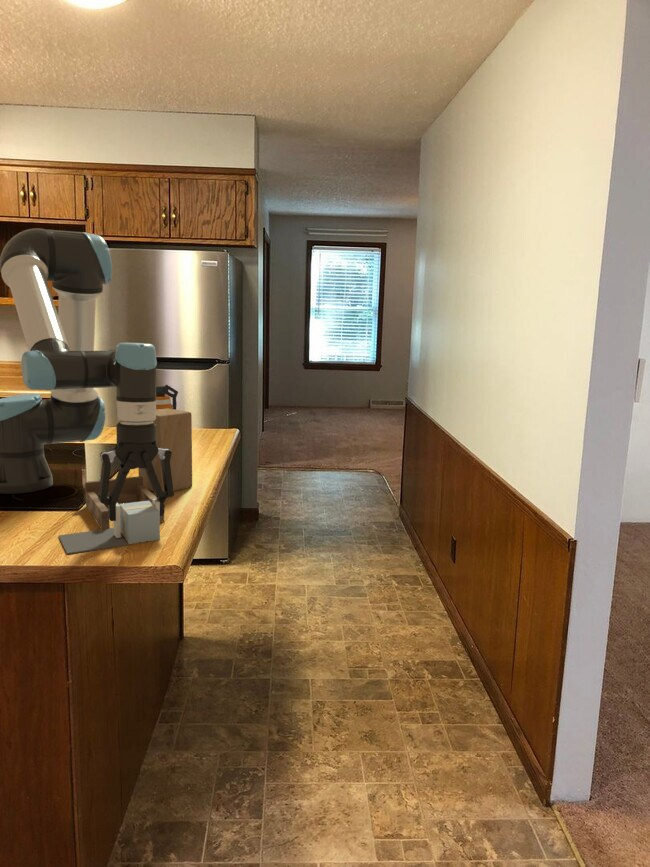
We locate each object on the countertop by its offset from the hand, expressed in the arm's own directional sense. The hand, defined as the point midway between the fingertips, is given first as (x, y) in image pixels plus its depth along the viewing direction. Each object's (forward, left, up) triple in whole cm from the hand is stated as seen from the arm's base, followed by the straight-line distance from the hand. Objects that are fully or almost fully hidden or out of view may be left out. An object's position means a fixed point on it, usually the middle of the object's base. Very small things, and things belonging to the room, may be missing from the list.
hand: (136, 533), depth 129 cm
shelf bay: (-16, +1, 0) cm, 16 cm away
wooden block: (-35, +16, -1) cm, 38 cm away
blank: (0, +1, 0) cm, 1 cm away
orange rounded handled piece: (-100, +34, -1) cm, 105 cm away
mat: (-1, -8, 0) cm, 9 cm away
